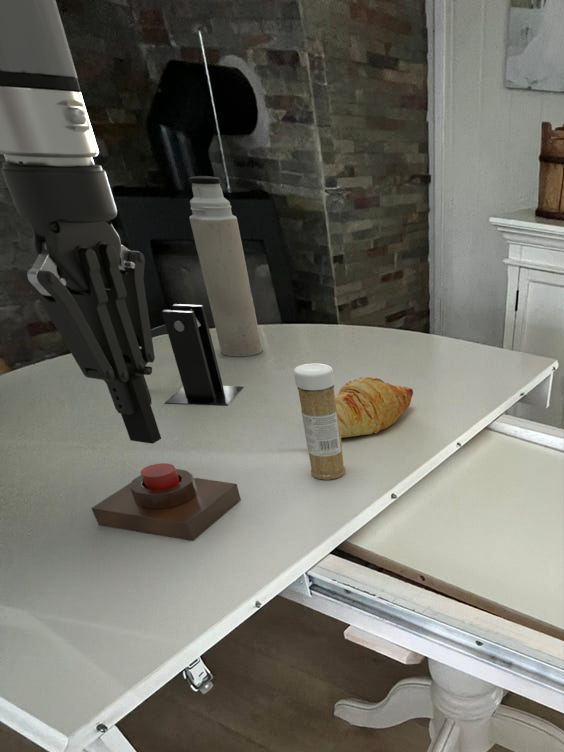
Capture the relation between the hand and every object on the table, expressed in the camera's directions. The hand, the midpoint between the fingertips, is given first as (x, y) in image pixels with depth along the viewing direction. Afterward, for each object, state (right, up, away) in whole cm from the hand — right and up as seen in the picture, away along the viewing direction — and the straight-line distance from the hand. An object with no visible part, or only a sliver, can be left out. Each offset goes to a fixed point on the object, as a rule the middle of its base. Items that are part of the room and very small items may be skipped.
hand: (145, 439), depth 64 cm
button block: (0, -7, +6) cm, 9 cm away
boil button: (0, -4, +3) cm, 5 cm away
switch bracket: (-9, +18, +33) cm, 39 cm away
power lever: (-13, +25, +27) cm, 39 cm away
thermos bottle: (-12, +37, +56) cm, 68 cm away
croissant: (+18, +12, +29) cm, 36 cm away
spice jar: (+16, 0, +15) cm, 22 cm away
